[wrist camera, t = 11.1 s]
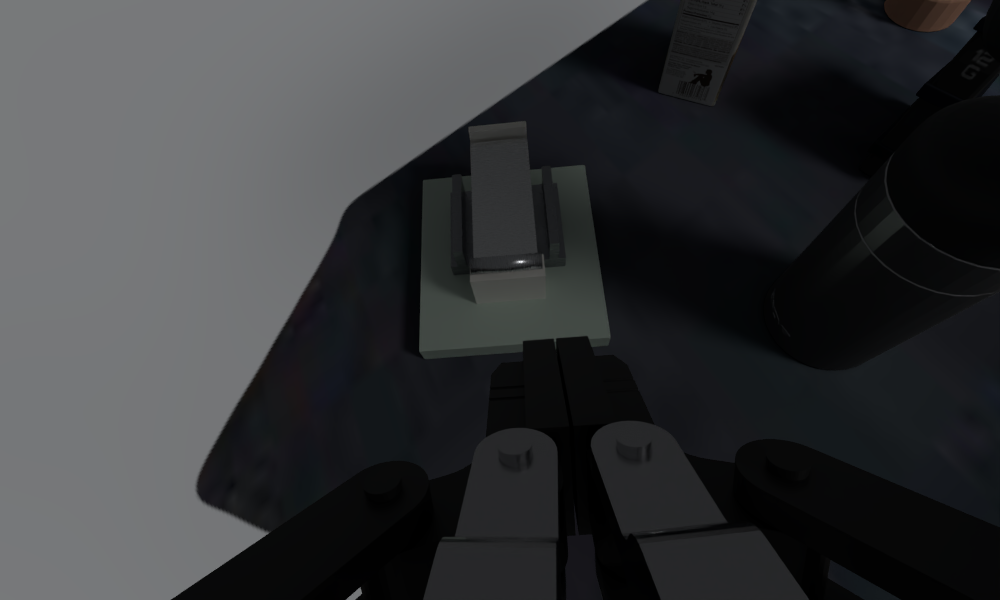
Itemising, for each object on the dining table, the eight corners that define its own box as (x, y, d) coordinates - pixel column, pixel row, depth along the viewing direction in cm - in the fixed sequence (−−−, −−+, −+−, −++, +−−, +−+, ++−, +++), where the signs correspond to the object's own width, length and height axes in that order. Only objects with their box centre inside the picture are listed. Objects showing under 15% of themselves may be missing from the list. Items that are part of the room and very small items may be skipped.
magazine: (843, 176, 46) (997, -1, 35) (877, 145, 54) (1012, -7, 43) (882, 199, 45) (1055, 23, 34) (911, 164, 53) (1059, 12, 42)
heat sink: (556, 192, 48) (557, 164, 44) (565, 266, 44) (567, 242, 41) (453, 202, 48) (445, 175, 45) (453, 275, 45) (445, 252, 41)
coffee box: (679, 38, 58) (724, -128, 43) (736, 51, 56) (803, -117, 41) (654, 93, 54) (694, -67, 40) (714, 108, 53) (778, -52, 38)
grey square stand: (583, 178, 51) (589, 114, 43) (607, 345, 43) (621, 305, 35) (427, 192, 51) (406, 132, 44) (424, 359, 44) (398, 322, 36)
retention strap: (542, 272, 39) (530, 147, 45) (542, 263, 38) (530, 136, 43) (472, 278, 40) (468, 153, 45) (469, 269, 38) (466, 142, 44)
